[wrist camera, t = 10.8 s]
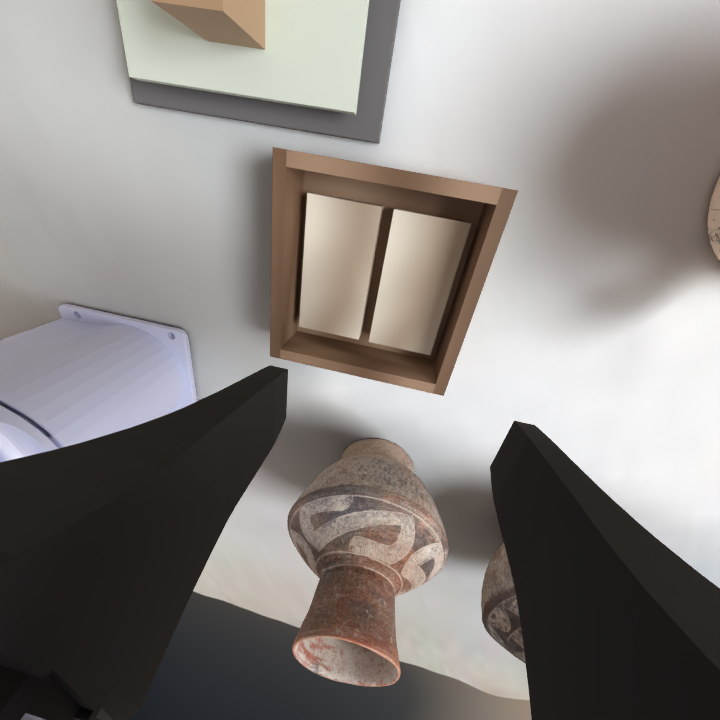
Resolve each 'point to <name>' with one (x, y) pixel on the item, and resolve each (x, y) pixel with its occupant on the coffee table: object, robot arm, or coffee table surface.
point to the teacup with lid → (715, 220)
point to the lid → (250, 48)
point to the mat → (298, 117)
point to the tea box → (378, 266)
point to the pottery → (377, 564)
